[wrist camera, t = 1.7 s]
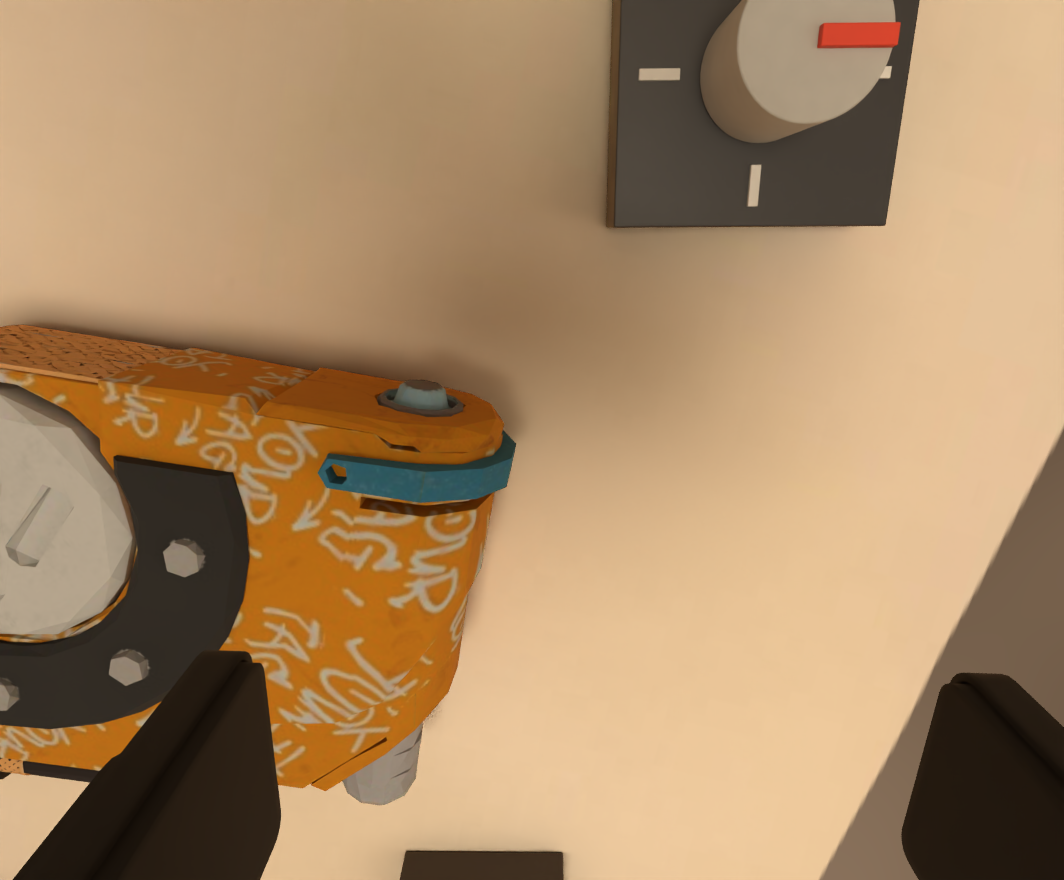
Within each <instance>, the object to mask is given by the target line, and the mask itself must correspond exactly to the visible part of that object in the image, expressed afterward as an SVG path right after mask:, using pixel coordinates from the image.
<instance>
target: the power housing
mask: <svg viewBox="0 0 1064 880" xmlns="http://www.w3.org/2000/svg"><path fill="white" fill-rule="evenodd" d="M400 880H563V854H562V853H517V852H406V854H405V858H404V863H403V867H402V872H401V877H400Z"/></svg>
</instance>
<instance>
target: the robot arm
mask: <svg viewBox="0 0 1064 880" xmlns="http://www.w3.org/2000/svg"><path fill="white" fill-rule="evenodd" d="M280 821H281V808H280V799H279V791H278V782H277V774H276V765H275V757H274V748H273V740H272V731H271V723H270V714H269V706H268V697H267V688H266V680H265V672H264V667H263V665H262V664H261V663H254V662H253V661H252V657H251V655H250V654H249V653H248V652H246V651H224V650H205V651H202V652H201V653H200V654H199V655H198V656H197V657H196V658H195V659H194V661H193V662H192V663H191V664H190V666H189V667H188V668H187V669H186V671H185V672H184V673H183V675H182V676H181V677H180V678H179V680H178V681H177V682H176V683H175V685H174V686H173V687H172V689H171V690H170V691H169V692H168V694H167V695H166V696H165V697H164V699H163V700H162V701H161V703H160V704H159V705H158V706H157V708H156V709H155V710H154V711H153V713H152V714H151V715H150V717H149V718H148V719H147V720H146V722H145V723H144V724H143V725H142V727H141V728H140V729H139V731H138V732H137V733H136V734H135V736H134V737H133V738H132V739H131V741H130V742H129V743H128V745H127V746H126V747H125V748H124V750H123V751H122V752H121V753H120V754H118V755H116V756H115V757H113V758H111V759H110V760H109V761H108V762H107V763H106V764H105V765H104V766H103V768H102V769H101V770H100V771H99V772H98V774H97V775H96V776H95V777H94V779H93V780H92V781H91V782H90V784H89V785H88V786H87V787H86V789H85V790H84V791H83V792H82V794H81V795H80V796H79V797H78V799H77V800H76V801H75V802H74V804H73V805H72V806H71V807H70V809H69V810H68V811H67V812H66V814H65V815H64V816H63V817H62V819H61V820H60V821H59V822H58V824H57V825H56V826H55V827H54V829H53V830H52V831H51V832H50V834H49V835H48V836H47V837H46V839H45V840H44V841H43V842H42V844H41V845H40V846H39V847H38V849H37V850H36V851H35V852H34V854H33V855H32V856H31V857H30V859H29V860H28V861H27V862H26V864H25V865H24V866H23V867H22V869H21V870H20V871H19V872H18V874H17V875H16V876H15V877H14V879H13V880H260V878H261V876H262V874H263V871H264V869H265V867H266V864H267V862H268V860H269V857H270V855H271V852H272V850H273V848H274V845H275V843H276V840H277V837H278V833H279V828H280ZM902 845H903V849H904V852H905V855H906V858H907V860H908V862H909V864H910V865H911V867H912V869H913V871H914V873H915V874H916V876H917V878H918V879H919V880H1064V727H1063V726H1062V725H1061V724H1059V722H1058V721H1057V720H1055V719H1054V718H1053V717H1052V716H1051V715H1050V714H1049V713H1048V712H1047V711H1046V710H1045V709H1044V708H1043V707H1042V706H1041V705H1040V704H1039V703H1038V702H1036V700H1034V698H1032V697H1031V696H1030V695H1029V694H1028V693H1027V692H1026V691H1025V690H1024V689H1023V688H1022V687H1021V686H1020V685H1019V684H1018V683H1017V682H1016V681H1014V680H1013V679H1012V678H1010V677H1009V676H1006V675H1003V674H987V673H959V674H956V675H955V676H954V677H953V678H952V680H951V682H950V683H949V684H945V685H944V686H943V687H942V688H941V690H940V692H939V696H938V699H937V703H936V707H935V710H934V714H933V718H932V721H931V725H930V729H929V732H928V736H927V740H926V743H925V747H924V751H923V755H922V758H921V762H920V765H919V769H918V773H917V777H916V780H915V784H914V787H913V791H912V795H911V799H910V802H909V806H908V809H907V813H906V817H905V820H904V824H903V827H902Z"/></svg>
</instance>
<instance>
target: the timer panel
mask: <svg viewBox="0 0 1064 880" xmlns="http://www.w3.org/2000/svg"><path fill="white" fill-rule="evenodd" d="M741 1H742V0H612V32H611V68H610V105H609V141H608V177H607V213H606V227H607V228H637V227H804V226H884V225H885V224H886V218H887V212H888V205H889V198H890V192H891V185H892V179H893V172H894V165H895V159H896V152H897V146H898V139H899V132H900V126H901V119H902V113H903V106H904V99H905V93H906V86H907V80H908V73H909V66H910V60H911V53H912V47H913V40H914V33H915V27H916V20H917V14H918V7H919V0H893V2H894V9H895V22H901V25H900V31H899V38H898V44H897V45H896V46H894V47H892V51H891V54H890V57H889V60H888V62H887V65H886V67H885V69H884V71H883V73H882V75H881V76H880V78H879V80H878V82H877V83H876V84H875V86H874V87H873V88H872V90H871V91H870V92H869V93H868V94H867V95H866V96H865V97H864V99H863V100H861V101H860V102H859V103H858V104H857V105H856V106H854V107H853V108H852V109H850V110H849V111H847V112H846V113H844V114H842V115H840V116H838V117H836V118H834V119H831V120H828V121H826V122H823V123H821V124H818V125H815V126H813V127H810V128H807V129H805V130H802V131H800V132H797V133H794V134H792V135H789V136H786V137H784V138H781V139H778V140H776V141H772V142H767V143H749V142H744V141H741V140H738V139H735V138H733V137H731V136H730V135H728V134H726V133H725V132H724V131H723V130H721V129H720V128H719V127H718V126H717V125H716V124H715V122H714V121H713V120H712V118H711V117H710V115H709V113H708V111H707V109H706V107H705V104H704V101H703V97H702V93H701V85H700V73H701V65H702V60H703V56H704V53H705V50H706V48H707V45H708V43H709V41H710V39H711V37H712V36H713V34H714V33H715V31H716V30H717V28H718V27H719V26H720V25H721V24H722V22H723V21H724V20H725V19H726V18H727V17H728V16H729V14H730V13H731V12H732V11H733V10H734V9H735V8H736V6H737V5H738V4H739V3H740V2H741Z"/></svg>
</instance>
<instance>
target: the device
mask: <svg viewBox="0 0 1064 880" xmlns="http://www.w3.org/2000/svg"><path fill="white" fill-rule="evenodd" d="M503 427H504V422H503V421H502V419H501V418H500V416H499V415H498V414H497V412H496V411H495V409H494V408H493V406H492V405H491V404H490V403H488V402H486V401H484V400H482V399H480V398H478V397H477V396H475V395H473V394H469V393H465V392H461V391H457V390H453V389H450V388H446V387H442V386H441V385H439V384H438V383H435V382H430V381H425V380H408V381H406V382H403V381H396V380H390V379H384V378H379V377H373V376H367V375H362V374H356V373H350V372H344V371H339V370H333V369H327V368H322V367H320V368H319V369H318V370H317V371H316V372H315V371H310V370H305V369H300V368H295V367H290V366H285V365H280V364H274V363H269V362H264V361H259V360H254V359H249V358H244V357H239V356H234V355H228V354H223V353H218V352H213V351H208V350H203V349H198V348H193V347H192V348H189V349H186V350H180V349H174V348H168V347H161V346H155V345H148V344H142V343H135V342H129V341H122V340H116V339H110V338H103V337H97V336H90V335H84V334H78V333H71V332H65V331H59V330H53V329H46V328H40V327H34V326H28V325H11V326H4V327H0V779H3V778H5V777H6V776H8V775H9V774H11V773H18V774H22V775H39V776H46V777H54V778H61V779H69V780H76V781H84V782H91V781H92V780H93V779H94V777H95V776H96V775H97V774H98V772H99V771H100V770H101V769H102V768H103V766H104V765H105V764H106V763H107V762H108V761H109V760H110V759H111V758H113V757H115V756H116V755H118V754H120V753H121V752H122V751H123V750H124V748H125V747H126V746H127V745H128V743H129V742H130V741H131V739H132V738H133V737H134V736H135V734H136V733H137V732H138V731H139V729H140V728H141V727H142V725H143V724H144V723H145V722H146V720H147V719H148V718H149V717H150V715H151V714H152V713H153V711H154V710H155V709H156V708H157V706H158V705H159V704H160V703H161V701H162V700H163V699H164V697H165V696H166V695H167V694H168V692H169V691H170V690H171V689H172V687H173V686H174V685H175V683H176V682H177V681H178V680H179V678H180V677H181V676H182V675H183V673H184V672H185V671H186V669H187V668H188V667H189V666H190V664H191V663H192V662H193V661H194V659H195V658H196V657H197V656H198V655H199V654H200V653H201V652H202V651H205V650H224V651H246V652H248V653H249V654H250V655H251V657H252V661H253V662H254V663H261V664H262V665H263V667H264V672H265V680H266V688H267V697H268V706H269V714H270V723H271V731H272V740H273V748H274V757H275V765H276V774H277V782H278V785H282V786H290V787H297V788H304V787H306V786H307V785H309V784H311V783H312V784H311V785H312V786H314V787H317V788H319V789H321V790H324V791H326V790H328V789H330V788H331V787H333V786H335V785H336V784H338V783H339V782H341V781H343V783H344V786H345V788H346V790H347V792H348V794H350V795H351V796H353V797H354V798H356V799H357V800H358V801H360V802H361V803H368V804H375V805H385V804H387V803H389V802H392V801H394V800H396V799H398V798H400V797H402V796H404V795H405V794H406V792H407V791H408V789H409V788H410V786H411V785H412V783H413V782H414V780H415V778H416V771H417V763H418V755H419V748H420V742H421V736H422V727H423V721H424V719H425V718H426V717H427V716H428V715H429V714H430V713H431V711H432V710H433V709H434V708H435V707H436V706H437V704H438V703H439V702H440V701H441V700H442V699H443V698H444V696H445V695H446V694H447V693H448V692H449V689H450V686H451V683H452V681H453V678H454V675H455V672H456V669H457V666H458V660H459V653H460V646H461V639H462V632H463V625H464V618H465V611H466V604H467V597H468V591H469V589H470V587H471V585H472V584H473V582H474V580H475V578H476V576H477V574H478V572H479V571H480V569H481V566H482V560H483V554H484V549H485V543H486V537H487V532H488V526H489V520H490V515H491V509H492V503H493V497H494V492H495V491H497V490H500V489H502V488H505V487H506V486H507V482H508V478H509V474H510V470H511V466H512V461H513V457H514V452H515V447H516V443H515V442H514V441H513V440H512V439H511V438H510V437H509V436H508V435H507V434H506V432H505V431H504V430H503Z"/></svg>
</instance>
